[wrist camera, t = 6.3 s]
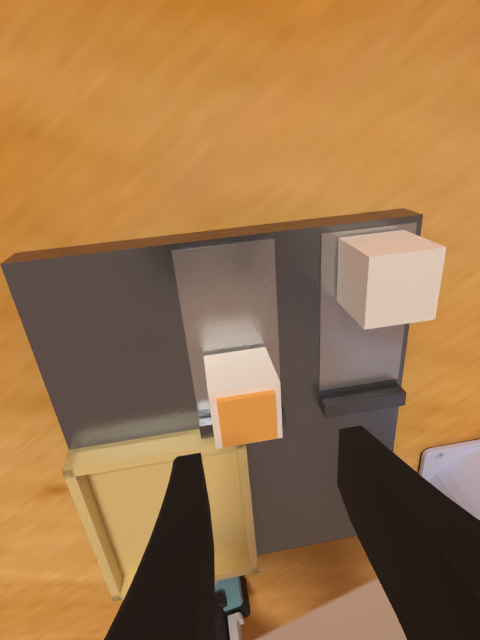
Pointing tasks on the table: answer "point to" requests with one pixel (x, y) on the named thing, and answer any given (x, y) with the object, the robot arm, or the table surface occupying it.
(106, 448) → the tray
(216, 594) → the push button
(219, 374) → the breaker
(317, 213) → the table surface
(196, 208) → the table surface
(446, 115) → the table surface
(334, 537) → the breaker panel
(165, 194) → the table surface
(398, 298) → the block
